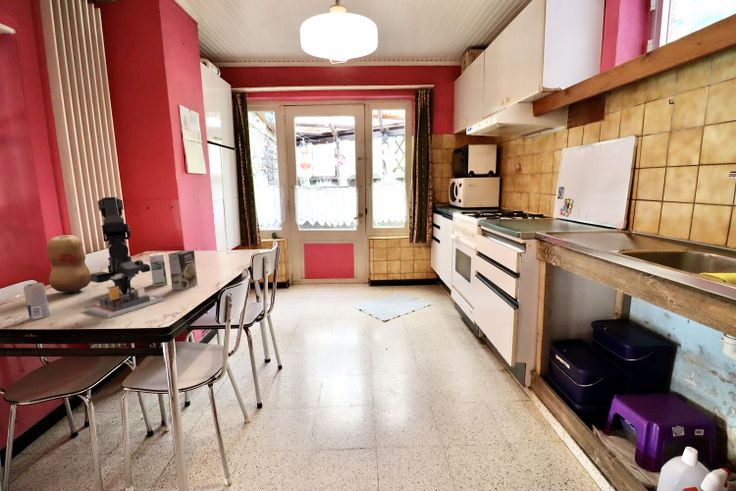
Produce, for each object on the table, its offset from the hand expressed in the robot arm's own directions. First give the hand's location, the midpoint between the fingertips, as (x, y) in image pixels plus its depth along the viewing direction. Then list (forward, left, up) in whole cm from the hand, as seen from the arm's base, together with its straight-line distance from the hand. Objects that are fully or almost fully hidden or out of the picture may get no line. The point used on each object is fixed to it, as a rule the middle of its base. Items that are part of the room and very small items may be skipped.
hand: (124, 294), depth 134 cm
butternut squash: (-40, 0, -5) cm, 40 cm away
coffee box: (-1, +26, -5) cm, 26 cm away
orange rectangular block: (0, -4, -1) cm, 4 cm away
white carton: (-16, -20, -5) cm, 26 cm away
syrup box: (-16, +24, -5) cm, 29 cm away
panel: (0, 0, -5) cm, 5 cm away
